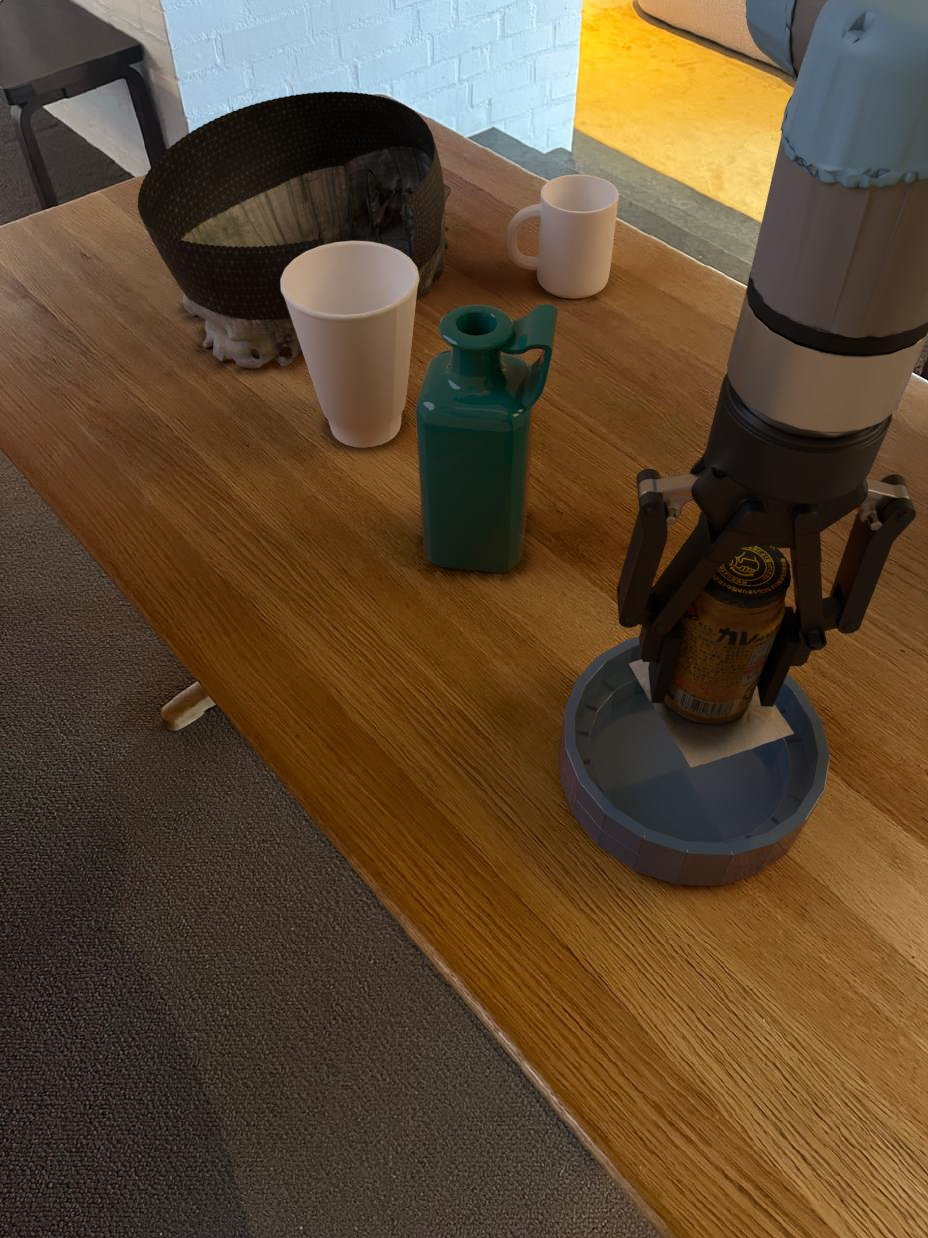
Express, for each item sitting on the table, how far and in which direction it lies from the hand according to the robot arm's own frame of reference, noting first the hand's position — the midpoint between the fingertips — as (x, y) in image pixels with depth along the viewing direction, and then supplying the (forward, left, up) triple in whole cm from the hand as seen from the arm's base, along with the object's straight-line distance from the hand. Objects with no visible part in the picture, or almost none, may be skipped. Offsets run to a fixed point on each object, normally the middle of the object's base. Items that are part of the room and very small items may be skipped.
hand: (709, 686), depth 60 cm
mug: (+8, -64, -11) cm, 65 cm away
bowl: (0, 0, -11) cm, 11 cm away
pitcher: (+15, -23, -11) cm, 30 cm away
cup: (+27, -38, -11) cm, 48 cm away
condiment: (0, 0, -2) cm, 2 cm away
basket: (+34, -60, -11) cm, 70 cm away
